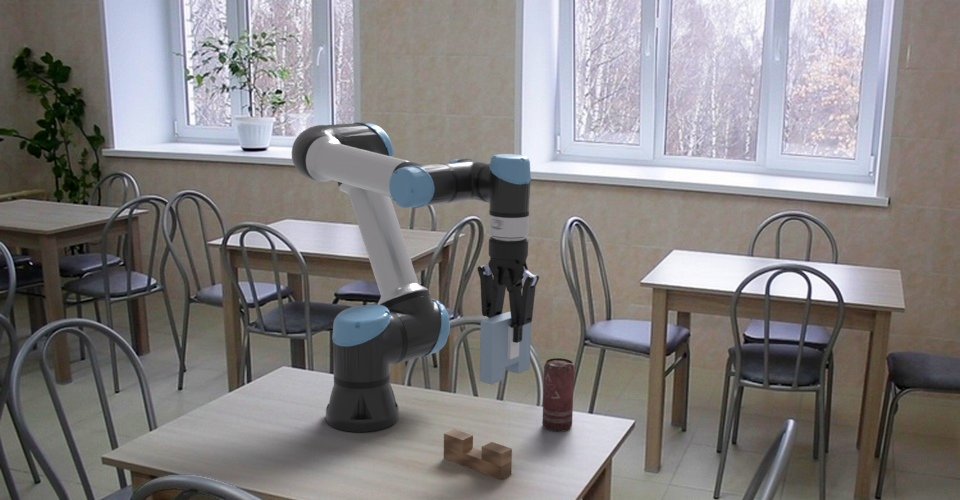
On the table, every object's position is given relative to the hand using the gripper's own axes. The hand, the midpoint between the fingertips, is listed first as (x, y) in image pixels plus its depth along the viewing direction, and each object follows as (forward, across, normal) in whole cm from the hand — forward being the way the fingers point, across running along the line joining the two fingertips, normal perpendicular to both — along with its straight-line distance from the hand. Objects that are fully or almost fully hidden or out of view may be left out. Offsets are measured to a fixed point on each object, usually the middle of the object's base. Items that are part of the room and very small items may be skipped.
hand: (505, 355), depth 191 cm
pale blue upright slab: (+4, 0, 0) cm, 4 cm away
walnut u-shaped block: (+18, +3, -12) cm, 22 cm away
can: (+18, +3, +14) cm, 23 cm away
